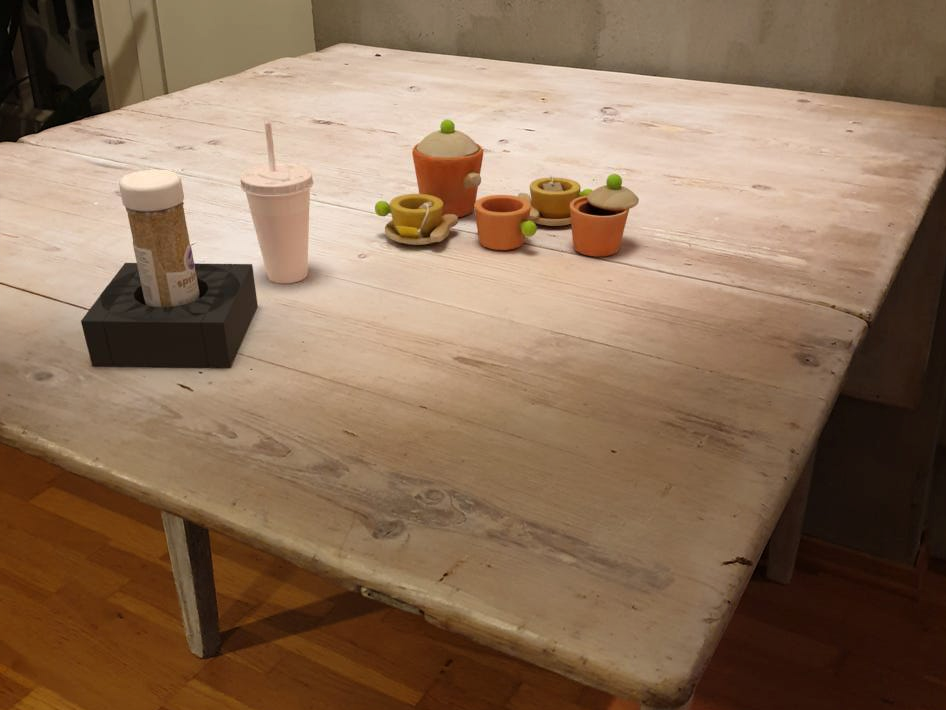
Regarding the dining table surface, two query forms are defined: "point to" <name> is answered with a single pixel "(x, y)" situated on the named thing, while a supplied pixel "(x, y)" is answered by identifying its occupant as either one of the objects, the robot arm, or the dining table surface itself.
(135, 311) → the socket pad
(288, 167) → the smoothie
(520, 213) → the toy tea set
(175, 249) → the sprinkles bottle
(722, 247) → the dining table surface
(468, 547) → the dining table surface
